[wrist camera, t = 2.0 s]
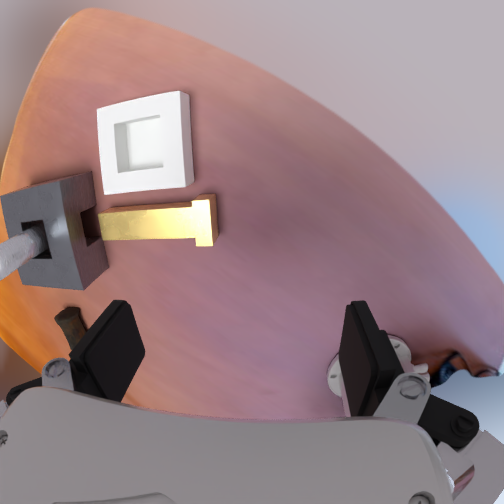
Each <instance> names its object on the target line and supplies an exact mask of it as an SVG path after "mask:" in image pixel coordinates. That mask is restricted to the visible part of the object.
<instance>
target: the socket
mask: <svg viewBox="0 0 504 504" xmlns="http://www.w3.org/2000/svg"><path fill="white" fill-rule="evenodd" d="M0 198H1V204H2V209H3V215H4V219H5V224H6V228H7V233H8V237H9V239H10V238H12V237H14V236H16V235H17V234H19V233H21V232H23V231H25V230H27V229H29V228H31V227H33V226H35V225H37V224H39V223H41V222H44V227H45V231H46V236H47V240H48V244H49V248H48V249H46V250H45V251H43V252H41V253H40V254H38V255H37V256H35V257H34V258H32V259H31V260H29V261H28V262H26V263H25V264H23V265H22V266H20V267H19V268H18V272H19V275H20V278H21V281H22V284H23V285H32V286H41V287H51V288H62V289H73V290H85V289H86V288H87V287H88V286H89V285H90V284H91V283H92V282H93V281H94V280H95V279H97V278H98V277H99V276H100V275H101V274H102V273H103V272H104V271H105V270H106V269H108V268H109V265H108V261H107V256H106V252H105V248H104V243H103V238H102V237H90V238H85V236H84V231H83V226H82V221H81V216H80V212H82V211H84V210H86V209H89V208H91V207H93V206H95V205H96V199H95V192H94V185H93V177H92V172H87V173H82V174H77V175H72V176H67V177H63V178H58V179H54V180H50V181H46V182H42V183H38V184H34V185H30V186H27V187H24V188H21V189H18V190H15V191H13V192H10V193H7V194H4V195H2V196H0Z"/></svg>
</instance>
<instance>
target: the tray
mask: <svg viewBox="0 0 504 504" xmlns="http://www.w3.org/2000/svg"><path fill="white" fill-rule="evenodd" d="M97 122H98V139H99V152H100V163H101V172H102V181H103V188H104V195H108V194H116V193H125V192H134V191H144V190H155V189H167V188H179V187H187V186H188V185H190V184H192V183H194V170H193V156H192V140H191V122H190V99H189V95H188V94H186V93H184V92H182V91H174V92H168V93H163V94H158V95H152V96H148V97H143V98H138V99H134V100H130V101H126V102H122V103H118V104H114V105H110V106H107V107H103V108H100V109H97Z"/></svg>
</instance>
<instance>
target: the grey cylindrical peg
mask: <svg viewBox="0 0 504 504" xmlns="http://www.w3.org/2000/svg"><path fill="white" fill-rule="evenodd" d="M48 248H49V244H48V240H47V236H46V231H45V227H44V222H41V223H39V224H37V225H35V226H33V227H31V228H29V229H27V230H25V231H23V232H21V233H19V234H17V235H16V236H14V237H12V238H10V239H8V240H7V241H5V242H3V243H1V244H0V280H2V279H3V278H5V277H6V276H8V275H9V274H10V273H12V272H13V271H15V270H16V269H18V268H19V267H20V266H22V265H23V264H25V263H26V262H28V261H29V260H31V259H32V258H34V257H35V256H37V255H38V254H40V253H41V252H43V251H45V250H46V249H48Z"/></svg>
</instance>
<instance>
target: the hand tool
mask: <svg viewBox="0 0 504 504" xmlns="http://www.w3.org/2000/svg"><path fill="white" fill-rule="evenodd" d="M78 313H79V308H73V307H71V308H67V309H64V310H62V311H61V312H60V313H59V314H57V315H56V316H55V321H56V323H57V324H58V325H59V326H60V327H61V329H62V331H63V332H64V334H65V336H66V339H67V340H68V343H69V346H70V349H71V350H73V348H74V347H75V346H76V345H77V343H78V342H79V341H80V340H81V338H82V337H83V336H84V335H85V333H86V331H85V329H84V327H83V325H82V323H81V321H80V319H79V316H78Z"/></svg>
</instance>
